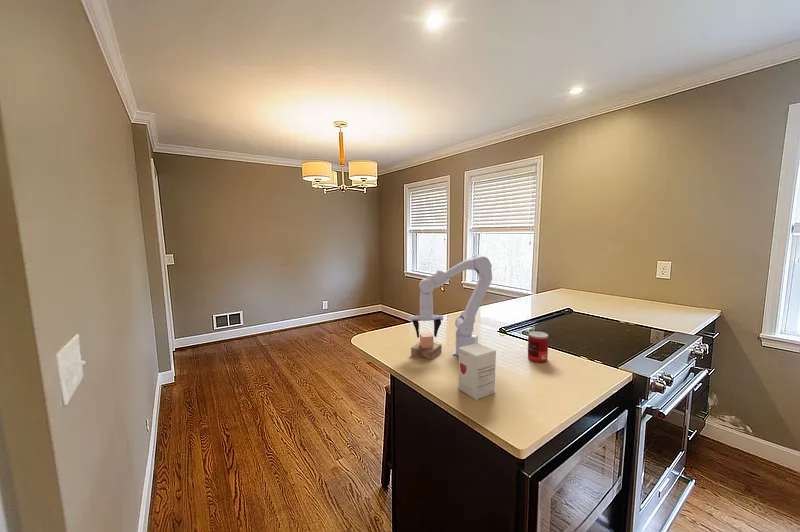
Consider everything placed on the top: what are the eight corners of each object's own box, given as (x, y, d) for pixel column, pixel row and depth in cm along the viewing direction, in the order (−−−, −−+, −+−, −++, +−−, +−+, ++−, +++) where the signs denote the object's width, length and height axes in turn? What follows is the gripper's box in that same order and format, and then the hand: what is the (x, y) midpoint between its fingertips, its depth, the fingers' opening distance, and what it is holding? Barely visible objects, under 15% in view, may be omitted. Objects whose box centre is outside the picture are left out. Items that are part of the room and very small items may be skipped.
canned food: (547, 357, 138) (548, 332, 137) (547, 364, 131) (548, 338, 130) (528, 354, 142) (529, 330, 140) (527, 361, 135) (527, 335, 133)
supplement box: (457, 389, 112) (457, 347, 111) (476, 382, 117) (477, 342, 115) (475, 400, 104) (476, 355, 103) (495, 393, 109) (496, 350, 107)
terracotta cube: (430, 343, 147) (430, 332, 146) (433, 347, 142) (433, 336, 141) (419, 344, 146) (419, 333, 146) (422, 348, 141) (421, 337, 141)
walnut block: (441, 353, 146) (441, 344, 146) (431, 360, 138) (431, 351, 137) (421, 349, 151) (421, 340, 151) (411, 356, 143) (411, 347, 142)
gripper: (440, 303, 147) (441, 333, 148) (408, 304, 145) (409, 334, 147) (444, 307, 140) (444, 338, 141) (410, 308, 138) (411, 339, 140)
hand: (426, 336), depth 143 cm, fingers open, 7 cm apart
